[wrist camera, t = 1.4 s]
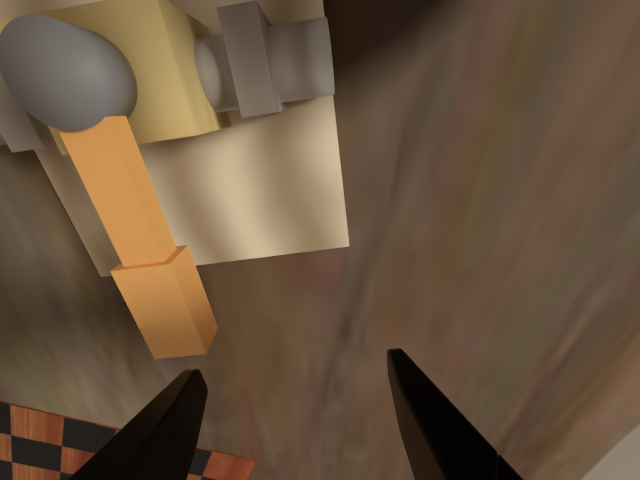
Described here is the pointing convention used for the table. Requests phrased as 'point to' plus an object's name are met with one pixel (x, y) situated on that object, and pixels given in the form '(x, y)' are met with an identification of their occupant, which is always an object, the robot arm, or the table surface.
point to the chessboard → (81, 448)
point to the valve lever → (110, 171)
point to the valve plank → (227, 169)
